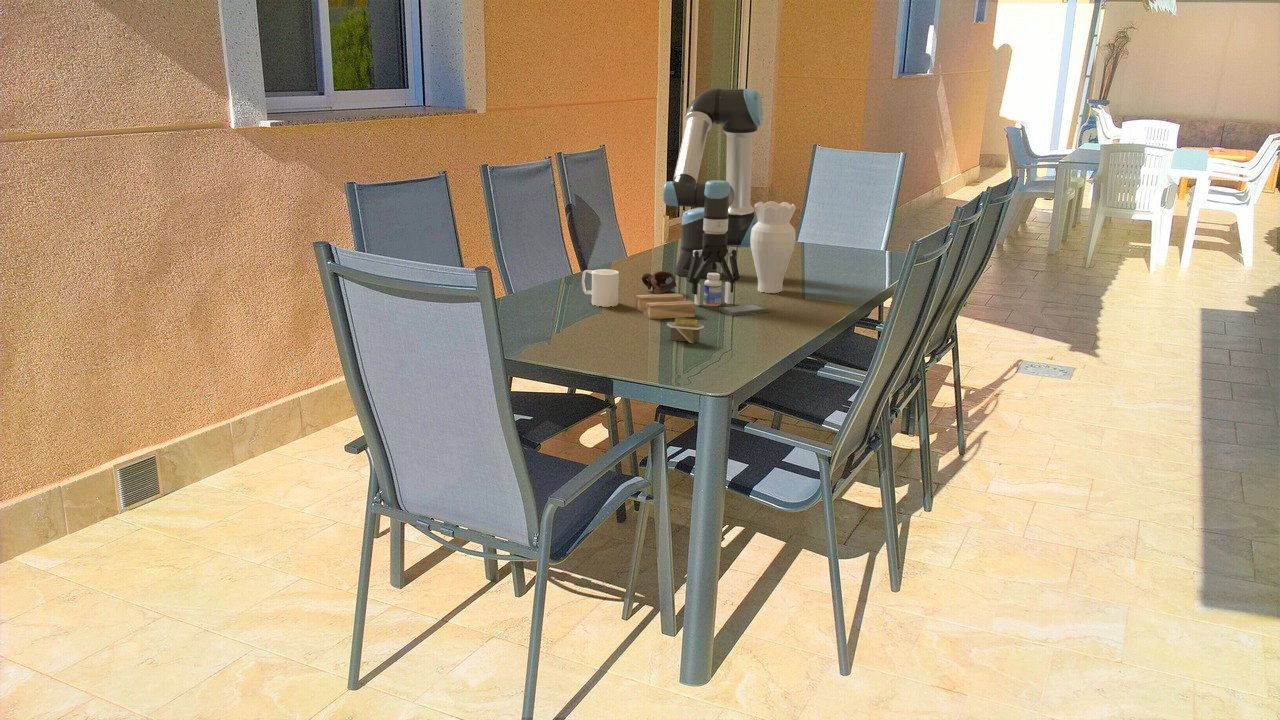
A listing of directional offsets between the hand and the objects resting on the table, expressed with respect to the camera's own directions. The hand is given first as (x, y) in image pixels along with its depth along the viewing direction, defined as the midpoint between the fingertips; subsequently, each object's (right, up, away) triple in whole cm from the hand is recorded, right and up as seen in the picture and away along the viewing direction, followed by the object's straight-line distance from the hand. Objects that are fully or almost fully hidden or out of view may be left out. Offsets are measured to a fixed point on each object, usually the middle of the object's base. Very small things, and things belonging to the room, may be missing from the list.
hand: (712, 303), depth 315 cm
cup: (-35, 0, -2) cm, 35 cm away
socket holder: (-15, -3, -12) cm, 19 cm away
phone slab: (+9, -3, -8) cm, 12 cm away
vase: (+21, +5, +21) cm, 30 cm away
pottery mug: (-16, +4, +15) cm, 23 cm away
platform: (-11, -13, -43) cm, 46 cm away
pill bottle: (0, 0, 0) cm, 0 cm away
